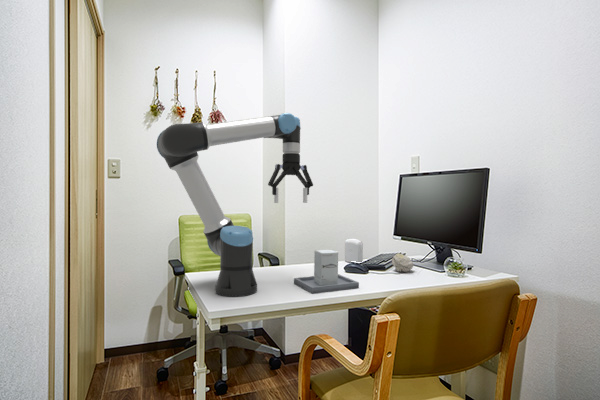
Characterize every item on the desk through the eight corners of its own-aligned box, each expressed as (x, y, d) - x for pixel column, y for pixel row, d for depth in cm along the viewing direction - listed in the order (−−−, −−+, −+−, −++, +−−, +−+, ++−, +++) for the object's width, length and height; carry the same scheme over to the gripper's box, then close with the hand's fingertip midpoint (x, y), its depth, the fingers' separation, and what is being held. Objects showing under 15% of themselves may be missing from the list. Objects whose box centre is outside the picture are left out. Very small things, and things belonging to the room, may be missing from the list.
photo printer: (343, 261, 198) (343, 238, 197) (349, 260, 200) (349, 237, 200) (358, 264, 190) (358, 240, 189) (363, 263, 192) (364, 239, 192)
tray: (312, 293, 136) (312, 287, 136) (294, 283, 150) (294, 278, 150) (358, 288, 144) (358, 282, 144) (337, 278, 159) (337, 273, 159)
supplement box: (320, 286, 143) (320, 252, 142) (313, 281, 150) (314, 249, 149) (338, 284, 145) (338, 252, 145) (330, 280, 152) (331, 249, 152)
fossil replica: (409, 268, 182) (388, 270, 181) (407, 251, 182) (387, 253, 182) (418, 272, 170) (396, 274, 169) (416, 253, 170) (394, 255, 170)
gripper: (313, 155, 171) (312, 202, 172) (260, 152, 161) (260, 202, 161) (321, 154, 164) (320, 202, 165) (266, 151, 154) (266, 203, 154)
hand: (290, 202), depth 163 cm, fingers open, 13 cm apart
